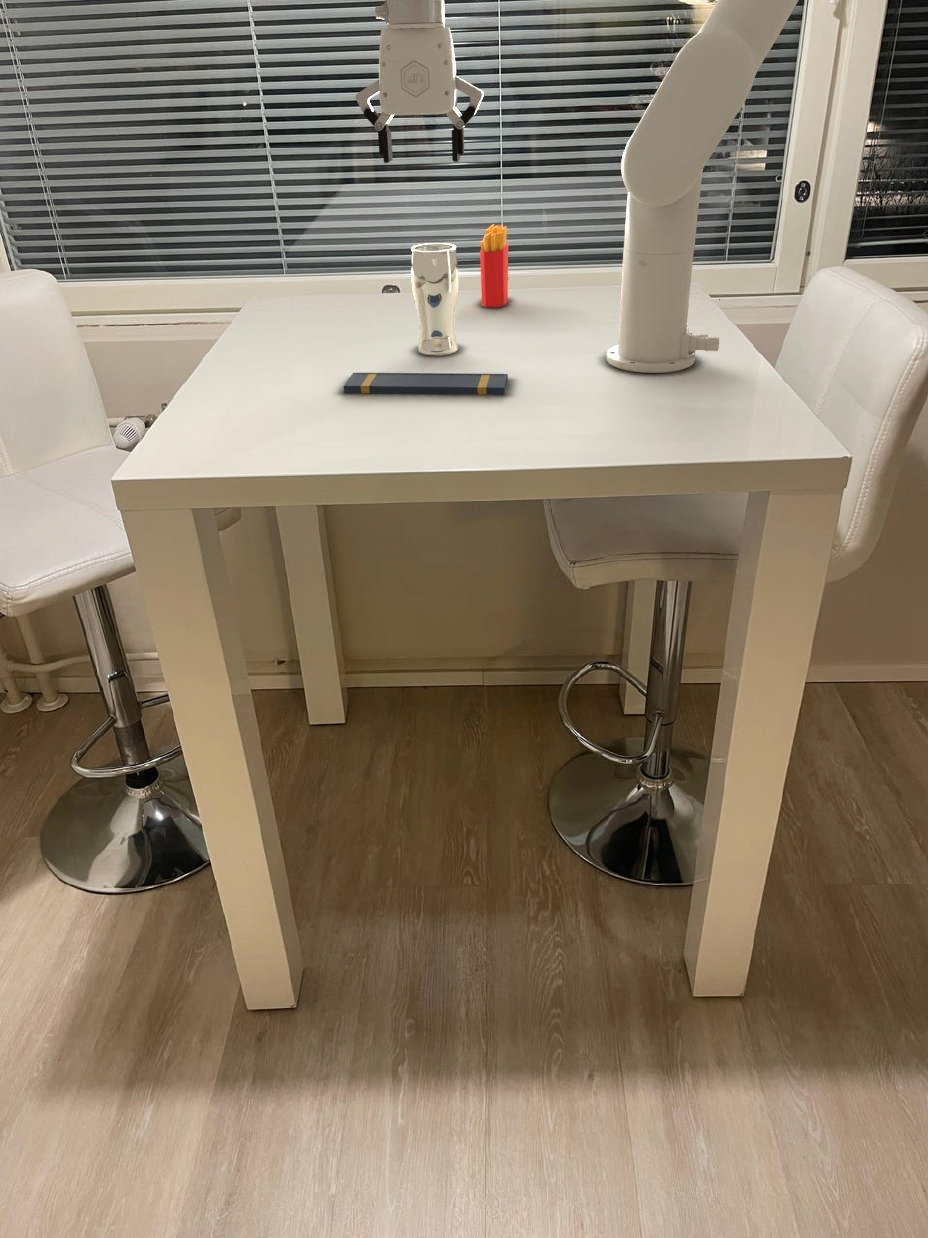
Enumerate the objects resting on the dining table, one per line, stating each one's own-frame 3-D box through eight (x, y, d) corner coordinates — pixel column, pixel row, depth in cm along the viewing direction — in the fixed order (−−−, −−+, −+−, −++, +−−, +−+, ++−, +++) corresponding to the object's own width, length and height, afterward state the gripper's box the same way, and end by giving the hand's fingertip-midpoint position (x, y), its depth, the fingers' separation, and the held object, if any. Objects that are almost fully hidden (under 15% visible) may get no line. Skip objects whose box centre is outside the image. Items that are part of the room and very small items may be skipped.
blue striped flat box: (507, 380, 132) (507, 372, 131) (504, 394, 127) (504, 386, 126) (353, 379, 134) (353, 371, 134) (344, 393, 129) (343, 385, 129)
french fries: (487, 296, 174) (486, 221, 168) (510, 297, 174) (510, 221, 167) (478, 309, 167) (476, 230, 160) (502, 309, 166) (501, 230, 159)
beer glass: (455, 357, 142) (451, 252, 134) (410, 355, 143) (404, 251, 136) (464, 344, 148) (461, 242, 140) (421, 343, 149) (416, 242, 141)
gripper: (344, 17, 120) (355, 165, 129) (479, 12, 118) (481, 163, 127) (356, 17, 127) (366, 159, 136) (484, 13, 125) (486, 157, 134)
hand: (422, 161), depth 132 cm, fingers open, 9 cm apart
